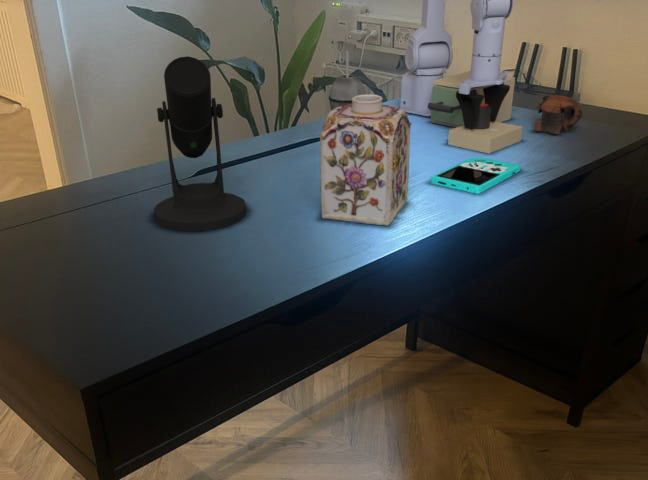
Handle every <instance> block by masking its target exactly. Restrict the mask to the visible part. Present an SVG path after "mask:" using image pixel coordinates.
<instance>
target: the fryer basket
mask: <svg viewBox="0 0 648 480" xmlns="http://www.w3.org/2000/svg"><path fill="white" fill-rule="evenodd" d="M457 91H459V88H453V87H447V86H437V85H435V86H433V88H432V103H429V104H428V109H430V110H431V116H430V120H435V121H440V122H445V123H450V124H455V125H460V126H463V125H464V124H463V123H464V121H463V115H462V110H461V107H460V104H459V102H458V100H457V98H456V92H457ZM476 93H477V91H476Z"/></svg>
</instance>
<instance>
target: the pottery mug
mask: <svg viewBox="0 0 648 480" xmlns="http://www.w3.org/2000/svg"><path fill="white" fill-rule="evenodd" d="M536 109H537V110H538V111H537V113H538V114H541V119H539V120H535V121H534V130H533V131H534V132H545V133H548V134H549V133H550V134H553V135H554V134H555V135H560V132H561V129H562V127H563V129H564V131H570V130H572V128H573V127H574V126H575V125H576V124H578V123H579V121H580V120H581V118H582V117H583V109H582V107H581V106H579V105H578V102H577V101H576V99H574V98H572V97H569V96H567V95H560V94H550V95H549V94H548V95H545V96H543V97H542V102H540V103H539V104H538V105H537V106H536Z"/></svg>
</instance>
